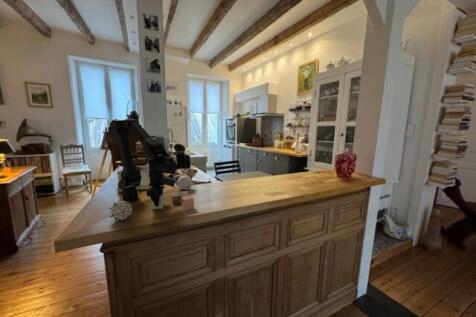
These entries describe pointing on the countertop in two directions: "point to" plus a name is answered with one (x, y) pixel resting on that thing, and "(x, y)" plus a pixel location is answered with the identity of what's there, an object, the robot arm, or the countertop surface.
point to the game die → (121, 210)
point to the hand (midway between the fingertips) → (157, 204)
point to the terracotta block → (187, 202)
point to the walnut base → (178, 196)
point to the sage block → (159, 203)
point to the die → (184, 183)
